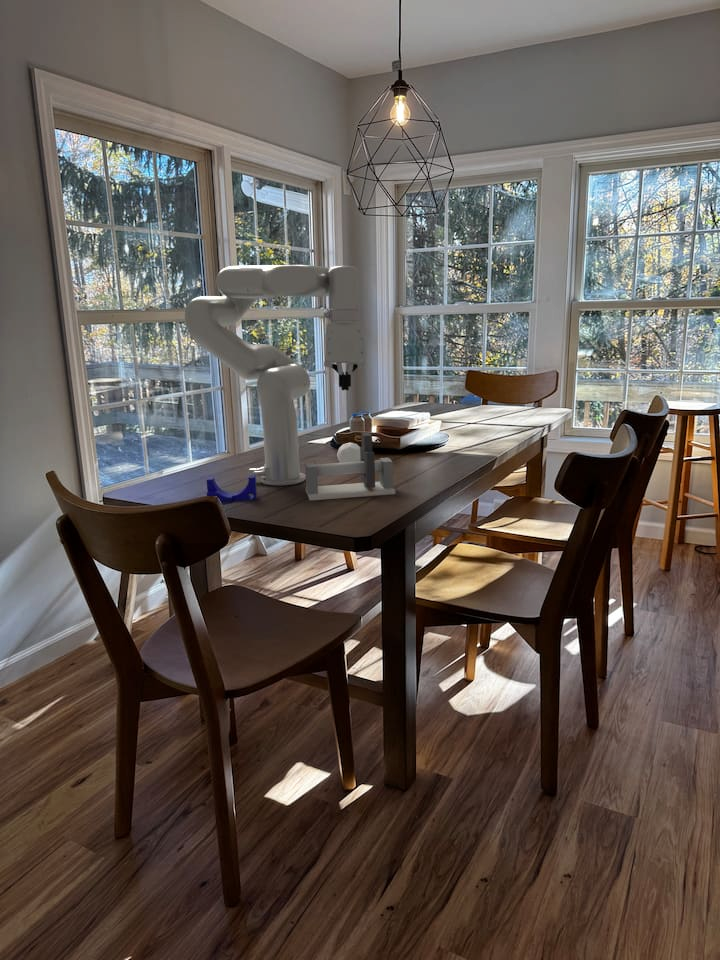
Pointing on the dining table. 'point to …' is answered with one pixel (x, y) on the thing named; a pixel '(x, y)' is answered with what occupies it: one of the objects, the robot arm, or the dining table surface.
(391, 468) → the pipe stand
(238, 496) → the blue pipe cradle
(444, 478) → the dining table surface
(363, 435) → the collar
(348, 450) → the geometric ball
